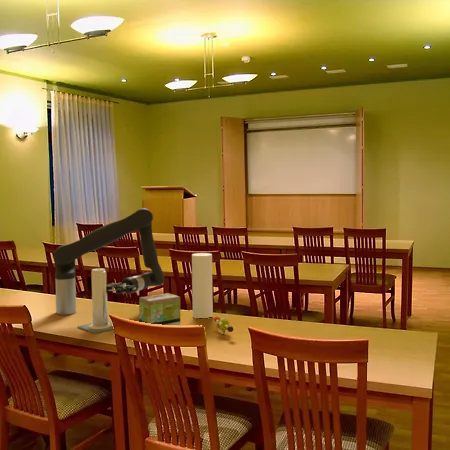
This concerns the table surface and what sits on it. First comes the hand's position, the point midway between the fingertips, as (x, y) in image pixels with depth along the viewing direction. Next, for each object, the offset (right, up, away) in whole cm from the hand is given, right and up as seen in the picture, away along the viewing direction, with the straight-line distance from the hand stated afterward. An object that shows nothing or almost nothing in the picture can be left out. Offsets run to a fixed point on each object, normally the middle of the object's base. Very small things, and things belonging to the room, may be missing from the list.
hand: (109, 290), depth 228 cm
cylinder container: (+41, -14, +12) cm, 45 cm away
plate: (-3, -15, -5) cm, 16 cm away
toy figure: (+51, -16, -16) cm, 56 cm away
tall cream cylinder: (-3, -15, -4) cm, 16 cm away
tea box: (+24, -16, -10) cm, 30 cm away
